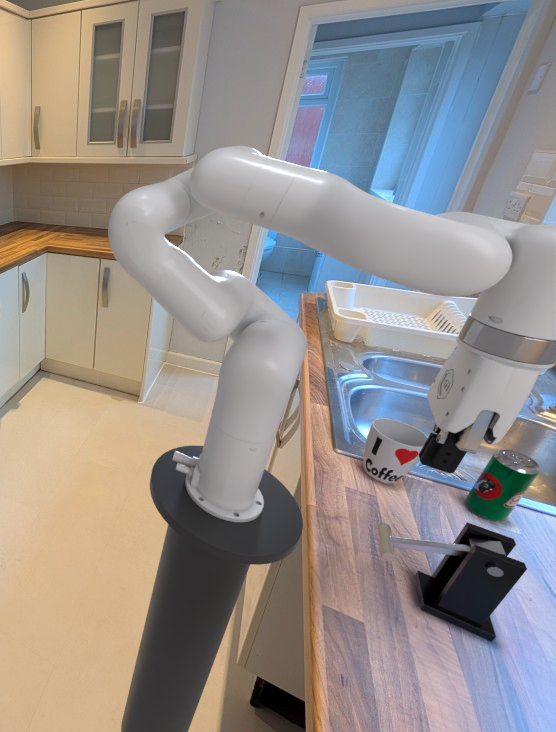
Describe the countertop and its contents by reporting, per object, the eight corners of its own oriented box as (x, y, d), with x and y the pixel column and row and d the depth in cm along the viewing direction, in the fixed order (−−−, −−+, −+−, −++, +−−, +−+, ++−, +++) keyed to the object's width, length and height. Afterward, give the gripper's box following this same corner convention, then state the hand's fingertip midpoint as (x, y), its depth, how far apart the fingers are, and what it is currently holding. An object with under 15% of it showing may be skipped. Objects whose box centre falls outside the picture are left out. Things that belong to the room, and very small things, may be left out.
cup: (349, 471, 82) (367, 430, 78) (359, 452, 87) (377, 412, 83) (403, 497, 76) (427, 454, 72) (411, 474, 81) (433, 433, 77)
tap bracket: (420, 609, 59) (462, 547, 53) (414, 575, 63) (452, 514, 58) (492, 642, 55) (545, 578, 50) (480, 603, 60) (527, 541, 54)
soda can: (502, 528, 70) (540, 474, 65) (460, 508, 74) (493, 455, 69) (507, 513, 73) (544, 460, 68) (466, 494, 77) (499, 443, 72)
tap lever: (383, 563, 59) (379, 549, 59) (379, 532, 64) (375, 519, 64) (514, 582, 52) (510, 566, 51) (499, 546, 56) (496, 530, 56)
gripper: (449, 309, 54) (391, 423, 62) (479, 357, 43) (404, 489, 51) (534, 324, 50) (461, 444, 58) (592, 382, 39) (491, 520, 47)
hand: (434, 464), depth 55 cm, fingers closed
